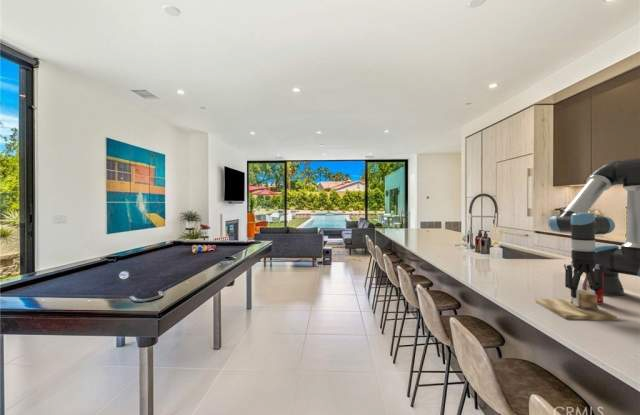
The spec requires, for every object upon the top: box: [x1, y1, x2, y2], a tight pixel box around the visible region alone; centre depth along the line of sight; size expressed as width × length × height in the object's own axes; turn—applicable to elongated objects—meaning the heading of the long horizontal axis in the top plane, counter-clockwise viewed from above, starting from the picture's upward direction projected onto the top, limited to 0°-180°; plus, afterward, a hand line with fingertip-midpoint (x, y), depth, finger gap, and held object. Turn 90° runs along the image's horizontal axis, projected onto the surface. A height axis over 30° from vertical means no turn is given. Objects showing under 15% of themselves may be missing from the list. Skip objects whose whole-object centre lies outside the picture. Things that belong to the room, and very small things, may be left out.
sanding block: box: [571, 289, 600, 310], centre depth 125 cm, size 5×8×6 cm, turn 172°
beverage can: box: [585, 268, 604, 305], centre depth 135 cm, size 6×6×15 cm
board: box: [534, 298, 618, 321], centre depth 126 cm, size 18×20×2 cm
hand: (584, 305), depth 125 cm, fingers closed on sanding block, 5 cm apart
